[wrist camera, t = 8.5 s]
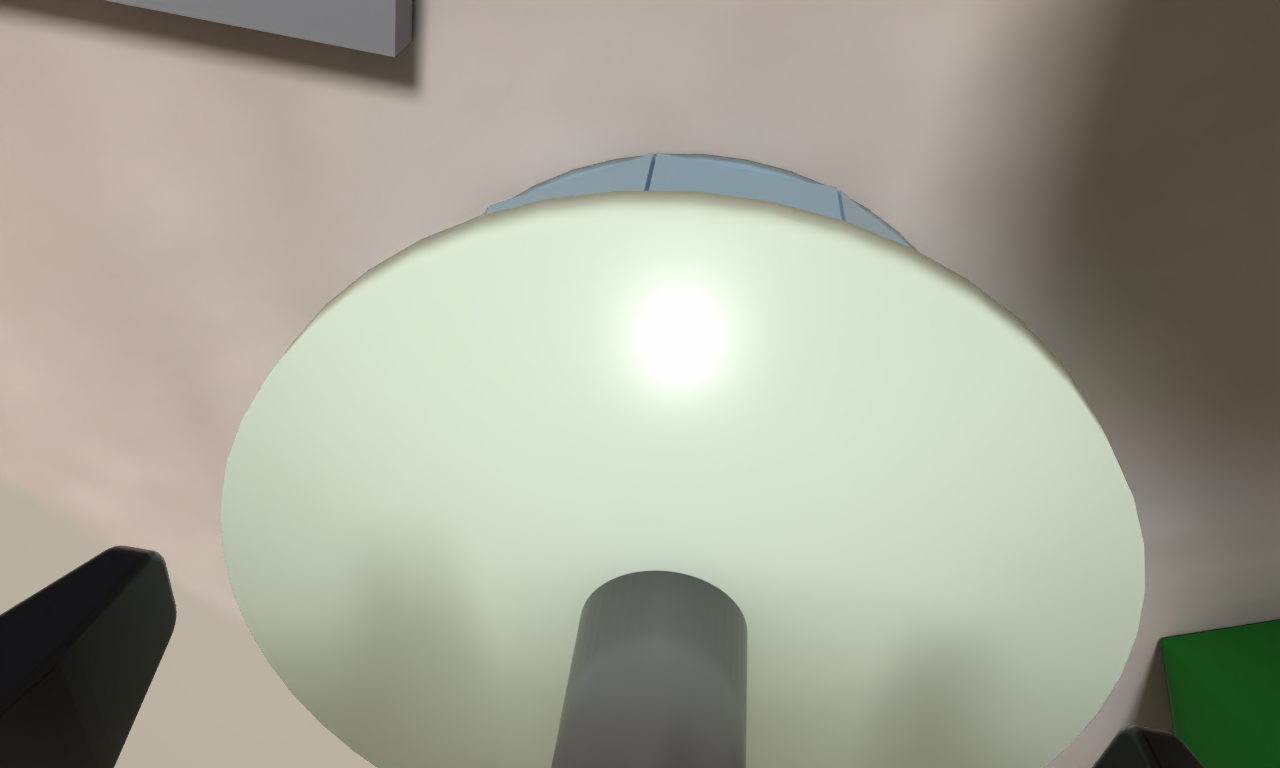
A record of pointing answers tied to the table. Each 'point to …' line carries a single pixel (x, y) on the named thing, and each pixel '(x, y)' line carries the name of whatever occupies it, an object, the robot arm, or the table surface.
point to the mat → (306, 19)
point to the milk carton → (1227, 694)
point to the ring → (706, 186)
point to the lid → (680, 503)
